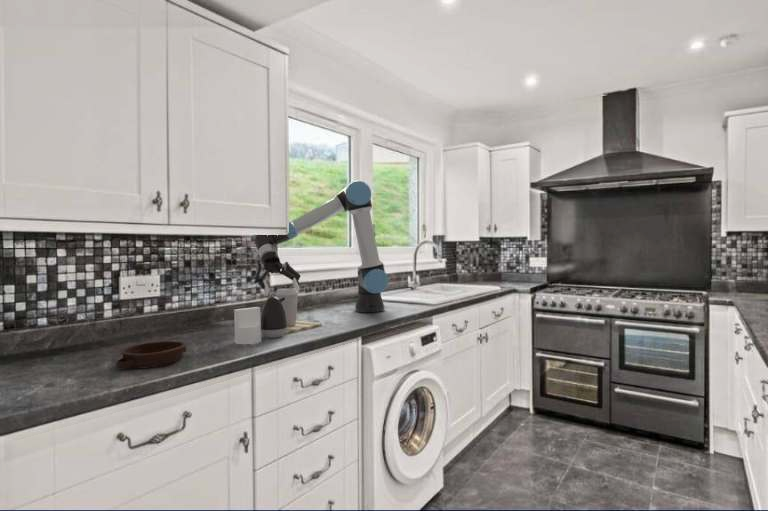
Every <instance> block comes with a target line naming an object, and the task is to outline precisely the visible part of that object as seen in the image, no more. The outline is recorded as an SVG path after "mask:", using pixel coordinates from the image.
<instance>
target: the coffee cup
mask: <svg viewBox="0 0 768 511" xmlns="http://www.w3.org/2000/svg"><path fill="white" fill-rule="evenodd" d="M299 294H300V291H299V292H298V291H297V289H296V288H294V287H291V288H289V287H288V288H287V287H285V288H284V287H283V288H278V289H277V291H276V292H275V296H276V297H277V298H278V299H281V298H283V297H284V298H285V300H284V301H283V302H281V303H282V305H283V307H284V310H285V314H286V318H287V326H294V325H296V321H297V314H298V313H297V312H298V311H297V310H298V298H299V297H298V295H299Z"/></svg>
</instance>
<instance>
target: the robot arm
mask: <svg viewBox="0 0 768 511" xmlns="http://www.w3.org/2000/svg"><path fill="white" fill-rule="evenodd" d="M371 199H372V189H371V187H370V185H368V183H367V182H365V181H364V180H363V181H362V180H355V181H351V182H350V183H349V184H347V186H346V187H345V188H343V189H342V190H341V191H340V192H339V193H337V194H334V198H332V199H330V200H328V201H326V202H324V203H323V204H321V205H319V206H317V207H315V208H313V209H311V210H309V211H308V212H305V213H304V214H302V215H300V216H298V217H297V218H295V219H293V220H291V221H289V222H288V223H289V233H288V234H287V235H278V236H277V235H268V236H267V235H253V234H252V238H253V242H254V244H255V247H256V250H257V252H258V256H259V258H260V261H261V262H262V263H261V262H258V264H257V267H256V270H257V272H256V274H255V279H254V283H255V284H258V286H260V289H261V290H263V291H264V294H265V297H268V296H269V295H270V294H269V293H270V290H269V287H268V284H267V281H266V280H265V279H266V278H267V276H268V275H269V274H280V275H283V276H285V277H286V278H288V279H289V280H291V281H292V285H293V288H296V289H297V291H298V292H299V293H300V291H301V288H300V286H299V285H300V282H299V280H300V278H301V274H300V273H298V272H297V271H296V270H295V268H293V267H292V266H291V265H290V264H289V262H288V261H285V262H284V263H282V262H281V259H280V257H279V254H278V252H277V250H276V247H275V246H277V245H279V244H282V243H285V242H286V243H287V242H288V241H290V240H293V239H295V238H297V237H298V236H299V235H300V234H303V233H305V232H306V231H308V230H310V229H312V228H314V227H315V226H317V225H319V224H322V222H325V221H326V220H329V219H330V218H333V217H334V216H336V215H338V214H340V213H346V212H348V213H349V214H350V215H351V216H352V221H353V225H354V226H353V227H354V230H355V235H356V240H357V245H358V250H359V255H360V259H361V264H360V266H358V267H357V271H356V272H357V290H358V292H357V294H358V295H357V298H356V302H355V306H354V311H355V312H356V313H357V312H358V313H379V312H384V311H385V304H384V301H383V298H382V292H384V291H385V290H386V288H387V287H388V285H389V277H388V274H387V273H386V271H385V266H384V262H382V261H381V259H380V257H379V251H378V247H377V241H376V236H375V231H374V226H373V221H372V215H371V210H372V209H373V204H372V200H371ZM263 269H264V272H263V273H262V276H261V275H260V274H261V271H262V270H263Z"/></svg>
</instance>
